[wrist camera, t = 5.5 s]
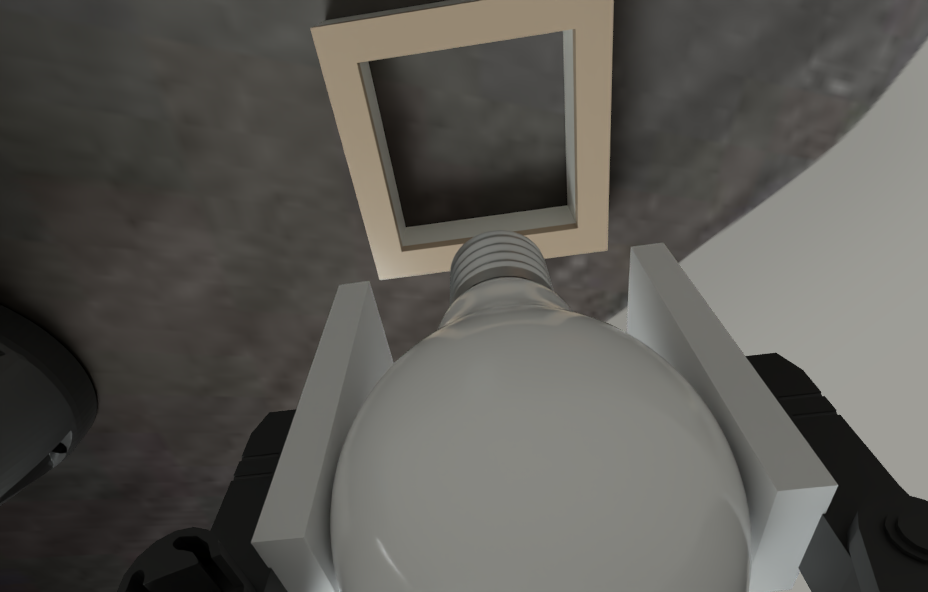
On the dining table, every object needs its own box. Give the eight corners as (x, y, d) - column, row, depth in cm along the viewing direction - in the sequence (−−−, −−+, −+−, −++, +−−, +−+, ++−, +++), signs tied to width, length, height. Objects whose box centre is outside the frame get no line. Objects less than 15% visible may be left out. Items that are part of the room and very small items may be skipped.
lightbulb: (342, 267, 15) (168, 768, 6) (495, 100, 12) (619, 528, 3) (496, 374, 17) (544, 841, 8) (650, 254, 15) (967, 739, 6)
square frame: (385, 254, 29) (379, 279, 27) (324, 20, 22) (310, 28, 20) (594, 226, 28) (607, 250, 26) (596, -24, 22) (614, -21, 19)
